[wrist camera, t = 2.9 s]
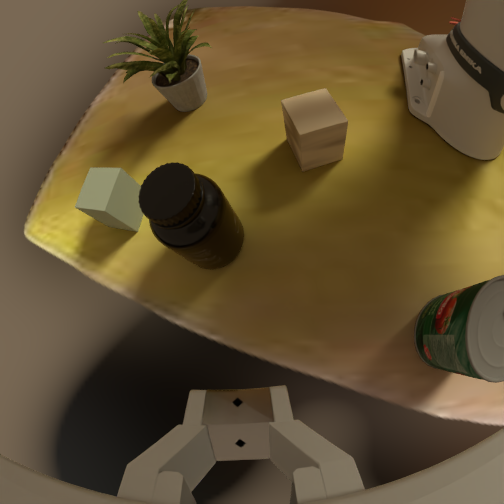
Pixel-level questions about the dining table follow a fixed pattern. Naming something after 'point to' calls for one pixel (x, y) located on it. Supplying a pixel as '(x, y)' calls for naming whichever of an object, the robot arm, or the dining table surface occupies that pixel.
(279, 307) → the dining table surface
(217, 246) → the supplement bottle
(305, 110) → the oak block
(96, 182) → the sage block
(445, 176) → the dining table surface
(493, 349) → the canned tomato
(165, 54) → the house plant
